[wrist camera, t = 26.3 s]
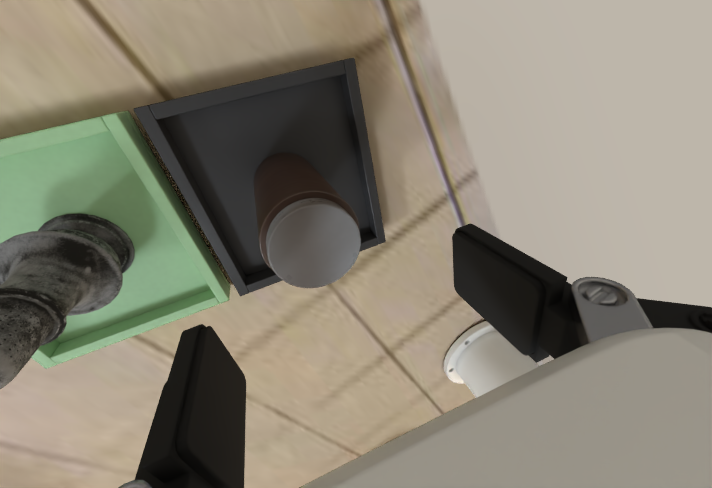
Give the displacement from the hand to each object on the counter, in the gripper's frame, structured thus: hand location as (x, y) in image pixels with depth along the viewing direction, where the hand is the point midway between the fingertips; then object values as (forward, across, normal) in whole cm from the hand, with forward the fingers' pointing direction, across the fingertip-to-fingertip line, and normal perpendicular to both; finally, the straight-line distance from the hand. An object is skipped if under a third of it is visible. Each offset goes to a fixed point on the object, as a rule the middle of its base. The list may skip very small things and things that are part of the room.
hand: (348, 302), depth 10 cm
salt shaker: (+14, +15, -1) cm, 21 cm away
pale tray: (+15, +15, -1) cm, 21 cm away
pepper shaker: (+14, 0, -1) cm, 14 cm away
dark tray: (+15, 0, -1) cm, 15 cm away
